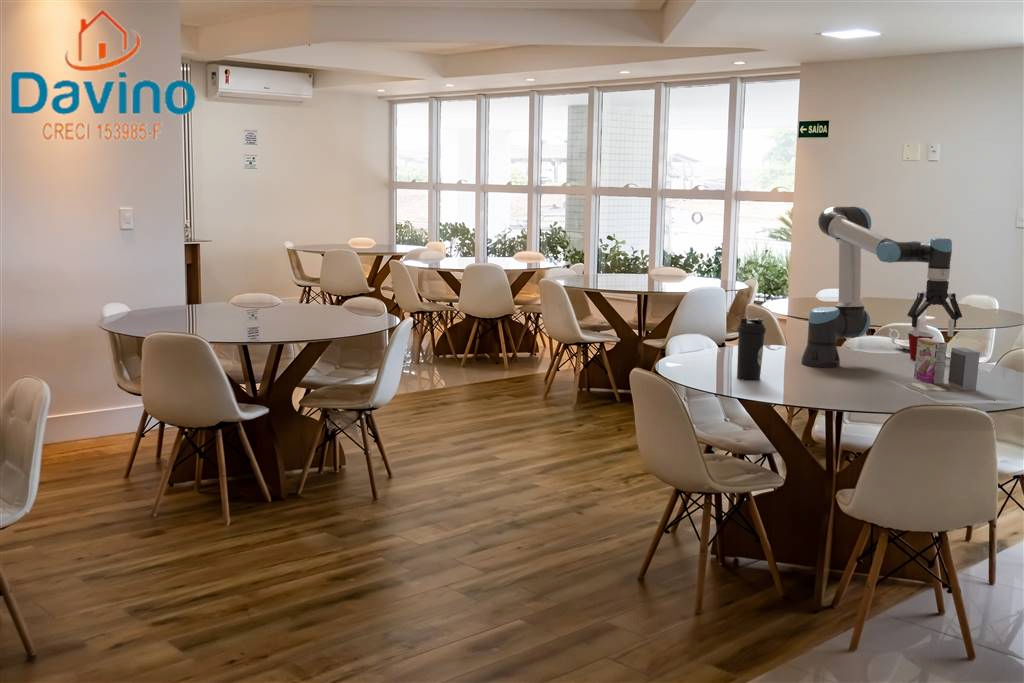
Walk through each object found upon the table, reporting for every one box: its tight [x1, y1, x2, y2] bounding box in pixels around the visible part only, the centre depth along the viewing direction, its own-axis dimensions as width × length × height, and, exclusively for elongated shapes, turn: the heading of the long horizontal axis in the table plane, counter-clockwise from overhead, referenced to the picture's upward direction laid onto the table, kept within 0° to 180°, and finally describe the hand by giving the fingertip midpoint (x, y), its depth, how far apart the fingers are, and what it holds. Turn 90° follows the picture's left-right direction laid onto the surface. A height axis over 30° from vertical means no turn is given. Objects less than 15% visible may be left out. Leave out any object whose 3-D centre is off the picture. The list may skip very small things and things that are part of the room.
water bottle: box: [736, 316, 767, 382], centre depth 374 cm, size 10×10×23 cm
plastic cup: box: [907, 330, 935, 361], centre depth 427 cm, size 11×11×12 cm
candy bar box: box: [913, 338, 948, 384], centre depth 375 cm, size 11×5×16 cm, turn 17°
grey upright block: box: [947, 347, 981, 390], centre depth 363 cm, size 5×10×14 cm, turn 5°
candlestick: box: [888, 289, 936, 351], centre depth 451 cm, size 21×25×28 cm
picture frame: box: [906, 382, 980, 395], centre depth 364 cm, size 21×13×1 cm, turn 95°
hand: (932, 336), depth 374 cm, fingers open, 13 cm apart
